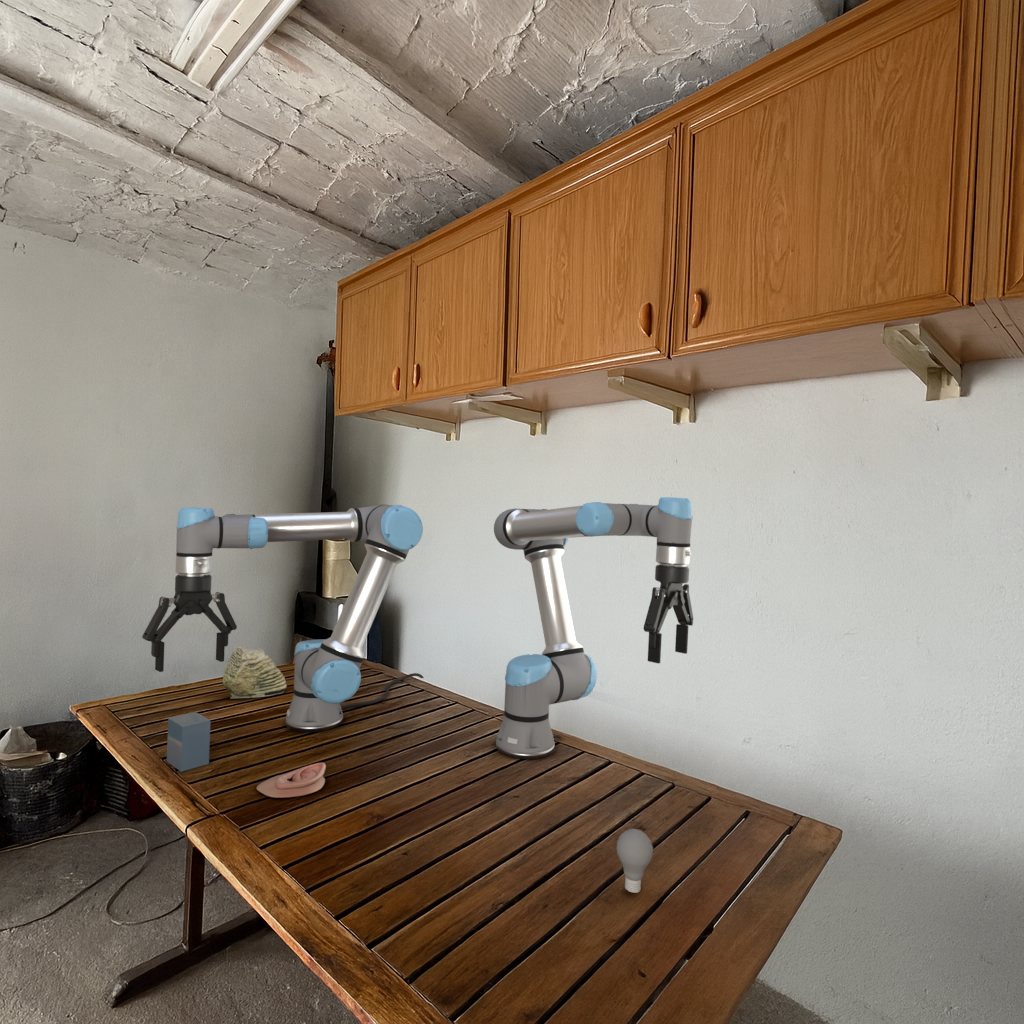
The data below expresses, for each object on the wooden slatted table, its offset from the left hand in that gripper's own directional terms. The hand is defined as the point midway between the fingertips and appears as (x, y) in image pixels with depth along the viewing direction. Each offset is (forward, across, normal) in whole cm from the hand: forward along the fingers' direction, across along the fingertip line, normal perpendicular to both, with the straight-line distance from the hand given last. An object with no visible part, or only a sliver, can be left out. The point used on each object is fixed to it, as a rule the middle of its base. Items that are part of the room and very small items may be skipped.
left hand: (190, 665), depth 147 cm
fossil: (+23, +36, +37) cm, 56 cm away
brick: (+23, 0, 0) cm, 23 cm away
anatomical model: (+23, +10, -28) cm, 37 cm away
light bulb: (+23, +30, -100) cm, 107 cm away
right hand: (-7, +70, -85) cm, 110 cm away
